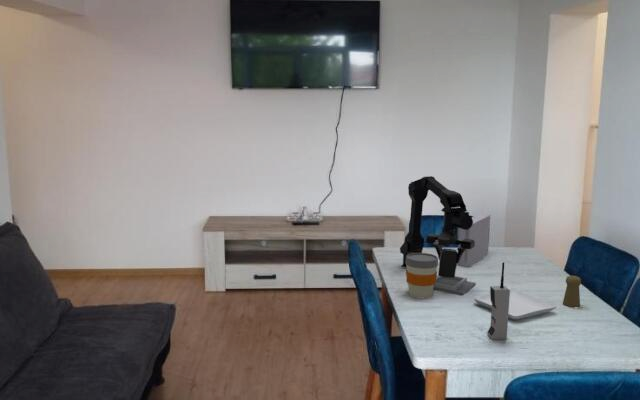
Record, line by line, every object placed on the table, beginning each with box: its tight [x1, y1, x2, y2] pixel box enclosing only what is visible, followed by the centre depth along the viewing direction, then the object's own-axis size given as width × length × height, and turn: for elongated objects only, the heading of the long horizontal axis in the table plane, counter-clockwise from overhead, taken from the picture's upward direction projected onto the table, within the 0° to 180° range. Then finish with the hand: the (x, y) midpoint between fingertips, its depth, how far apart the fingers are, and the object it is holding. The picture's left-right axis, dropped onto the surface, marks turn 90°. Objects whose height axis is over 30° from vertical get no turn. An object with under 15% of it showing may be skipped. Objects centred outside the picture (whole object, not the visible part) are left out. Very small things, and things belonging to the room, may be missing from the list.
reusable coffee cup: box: [405, 252, 439, 299], centre depth 221 cm, size 12×12×15 cm
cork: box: [562, 275, 582, 309], centre depth 210 cm, size 6×6×11 cm
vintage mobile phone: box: [486, 262, 510, 341], centre depth 180 cm, size 4×5×25 cm
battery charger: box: [437, 248, 458, 278], centre depth 230 cm, size 7×4×11 cm, turn 83°
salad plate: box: [472, 288, 557, 320], centre depth 207 cm, size 21×21×3 cm
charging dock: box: [433, 275, 476, 296], centre depth 231 cm, size 18×15×2 cm
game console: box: [457, 213, 491, 268], centre depth 268 cm, size 6×27×20 cm, turn 145°
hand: (448, 261), depth 230 cm, fingers closed on battery charger, 7 cm apart
